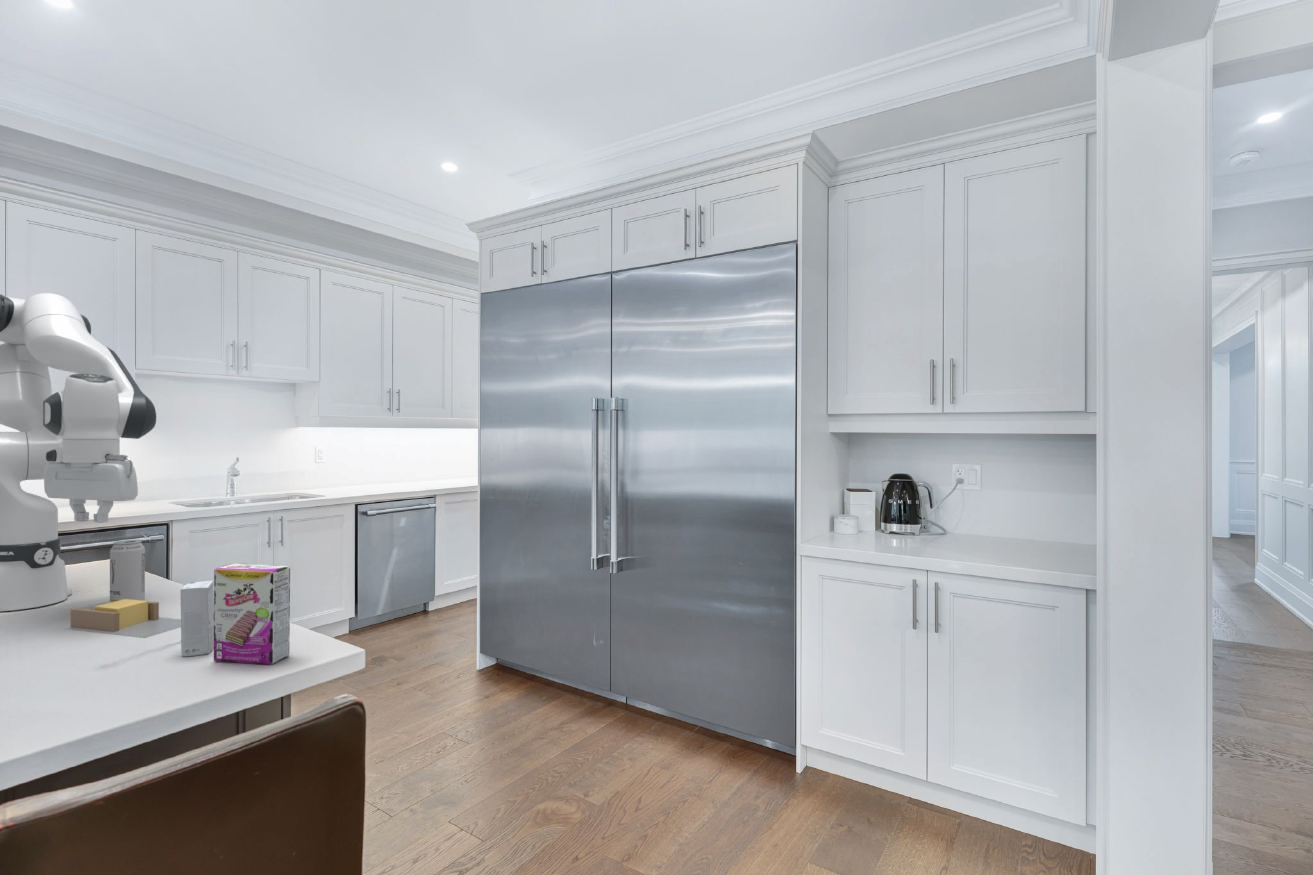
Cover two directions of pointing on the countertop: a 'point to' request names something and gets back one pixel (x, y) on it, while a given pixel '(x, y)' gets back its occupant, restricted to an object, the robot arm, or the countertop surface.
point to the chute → (110, 622)
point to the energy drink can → (127, 570)
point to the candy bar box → (251, 613)
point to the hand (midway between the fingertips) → (91, 521)
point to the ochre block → (127, 611)
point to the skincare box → (197, 618)
